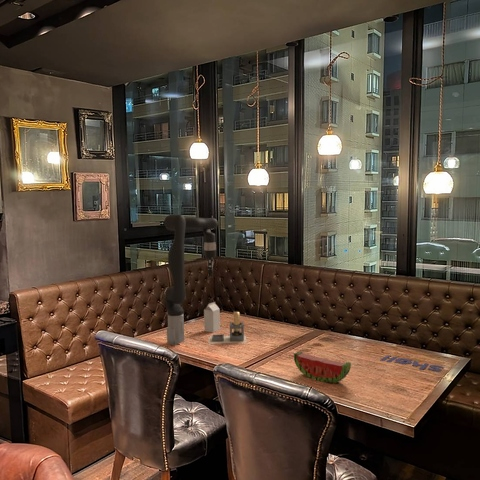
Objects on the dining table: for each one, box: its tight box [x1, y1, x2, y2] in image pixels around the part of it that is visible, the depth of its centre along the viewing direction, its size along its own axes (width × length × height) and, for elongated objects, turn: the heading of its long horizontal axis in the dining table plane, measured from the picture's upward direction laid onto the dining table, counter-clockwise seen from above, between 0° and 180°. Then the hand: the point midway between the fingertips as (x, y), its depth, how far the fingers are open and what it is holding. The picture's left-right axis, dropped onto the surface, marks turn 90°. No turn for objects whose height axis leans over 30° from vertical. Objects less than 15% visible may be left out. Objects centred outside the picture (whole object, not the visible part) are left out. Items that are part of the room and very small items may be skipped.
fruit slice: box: [293, 350, 352, 384], centre depth 200 cm, size 26×6×10 cm, turn 52°
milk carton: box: [203, 301, 221, 333], centre depth 274 cm, size 7×7×19 cm
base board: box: [208, 335, 247, 345], centre depth 256 cm, size 22×14×2 cm, turn 92°
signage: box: [379, 355, 445, 372], centre depth 217 cm, size 28×1×10 cm
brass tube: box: [233, 311, 241, 336], centre depth 255 cm, size 4×4×16 cm
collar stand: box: [211, 321, 245, 342], centre depth 255 cm, size 18×8×9 cm, turn 91°
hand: (210, 274), depth 278 cm, fingers open, 8 cm apart
